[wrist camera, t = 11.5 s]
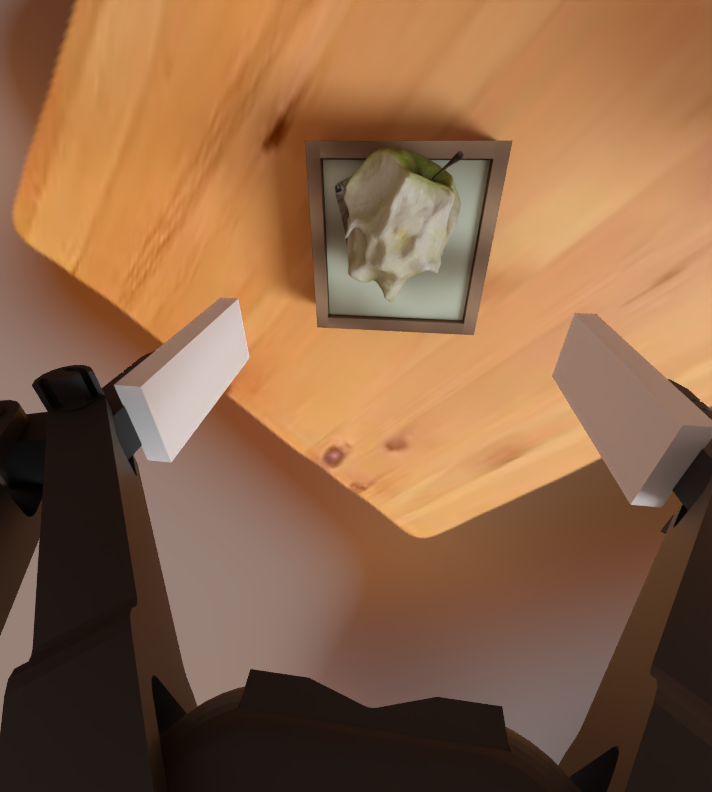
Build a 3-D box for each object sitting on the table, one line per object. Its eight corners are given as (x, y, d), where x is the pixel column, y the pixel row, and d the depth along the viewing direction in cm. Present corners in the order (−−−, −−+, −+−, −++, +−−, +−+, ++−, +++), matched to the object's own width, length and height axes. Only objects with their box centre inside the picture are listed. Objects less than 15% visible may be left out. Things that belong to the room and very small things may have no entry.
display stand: (319, 141, 29) (305, 141, 26) (497, 141, 28) (512, 140, 24) (327, 308, 37) (317, 327, 33) (466, 314, 36) (473, 334, 32)
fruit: (422, 118, 25) (459, 108, 19) (460, 244, 30) (500, 270, 24) (307, 186, 27) (304, 199, 21) (361, 295, 32) (373, 333, 26)
